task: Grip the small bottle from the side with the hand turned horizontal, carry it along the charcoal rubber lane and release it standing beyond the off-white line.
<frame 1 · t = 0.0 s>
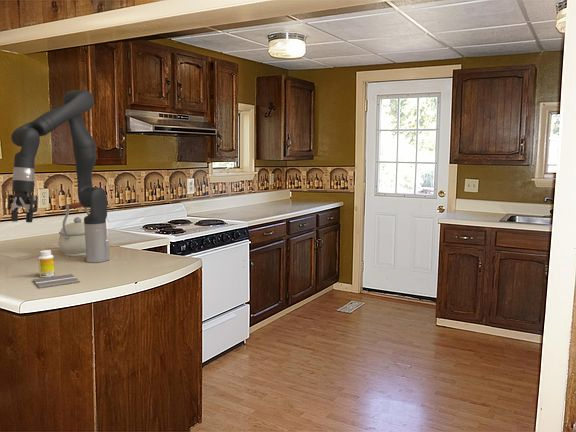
hand: (21, 221, 198), 22 cm above the counter, tool pointing down, fingers open, 8 cm apart
kettle: (81, 253, 252), on the counter
supplement bottle: (47, 276, 204), on the counter
lane mat: (56, 281, 195), on the counter
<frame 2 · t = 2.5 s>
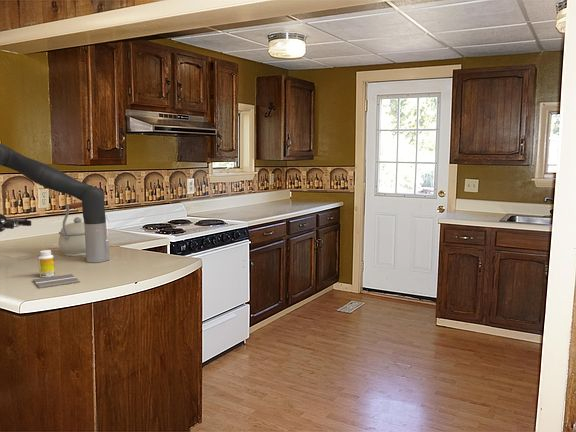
hand: (22, 224, 205), 20 cm above the counter, tool horizontal, fingers open, 8 cm apart
nothing on the counter moved.
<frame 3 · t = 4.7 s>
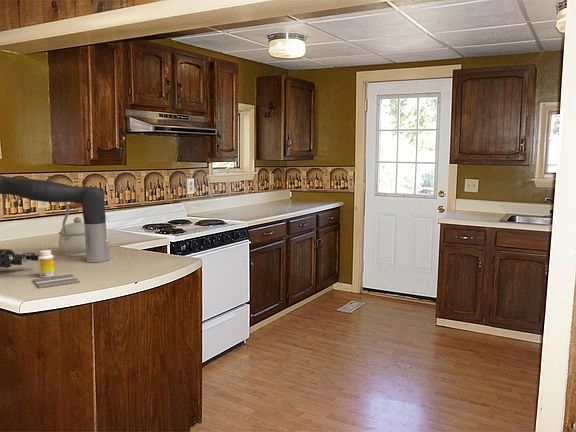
hand: (29, 260, 206), 6 cm above the counter, tool horizontal, fingers open, 8 cm apart
nothing on the counter moved.
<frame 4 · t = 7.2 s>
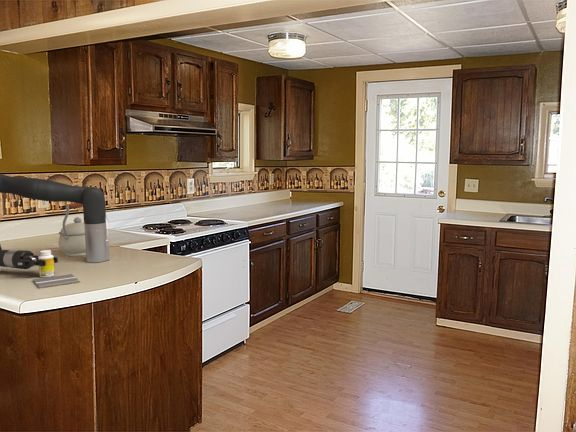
hand: (51, 261, 203), 6 cm above the counter, tool horizontal, fingers closed on supplement bottle, 5 cm apart
supplement bottle: (47, 276, 204), on the counter, touching gripper
everything else where it was.
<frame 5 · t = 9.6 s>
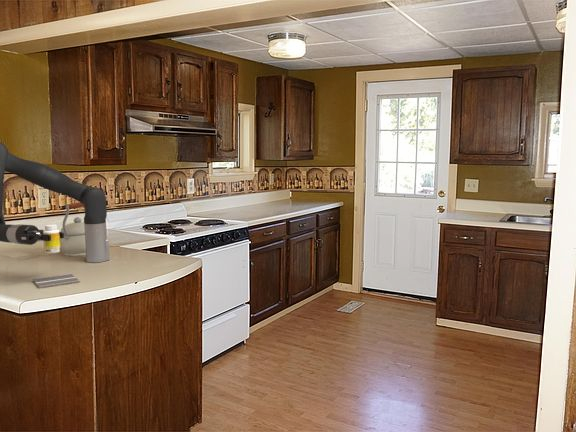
hand: (56, 236, 190), 18 cm above the counter, tool horizontal, fingers closed on supplement bottle, 5 cm apart
supplement bottle: (52, 252, 192), point 11 cm above the counter, touching gripper
everything else where it was.
when the fingers open (8 cm above the counter, at t = 12.2 s): supplement bottle stays where it is, resting on lane mat.
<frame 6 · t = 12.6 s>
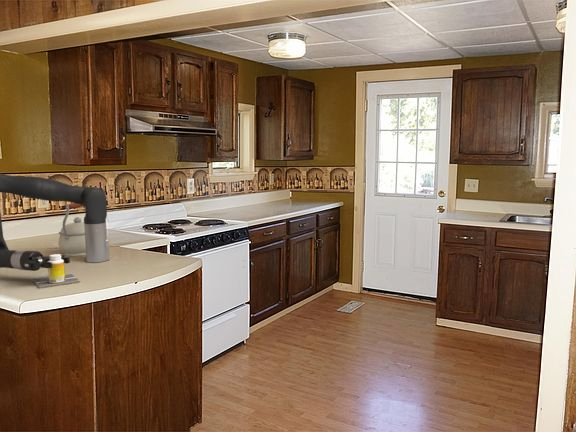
hand: (60, 262, 190), 8 cm above the counter, tool horizontal, fingers open, 8 cm apart
supplement bottle: (57, 282, 192), resting on lane mat
everything else where it was.
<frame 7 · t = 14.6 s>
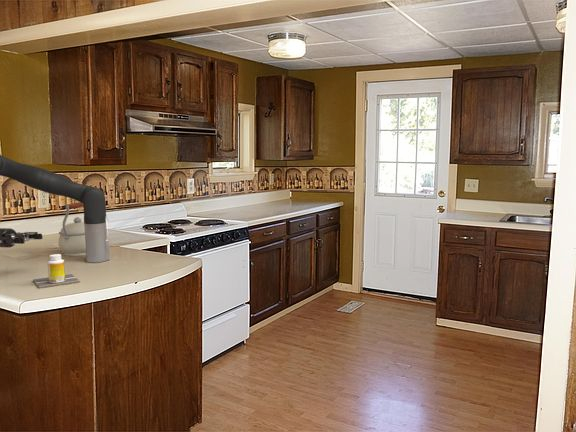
hand: (32, 238, 196), 16 cm above the counter, tool horizontal, fingers open, 8 cm apart
nothing on the counter moved.
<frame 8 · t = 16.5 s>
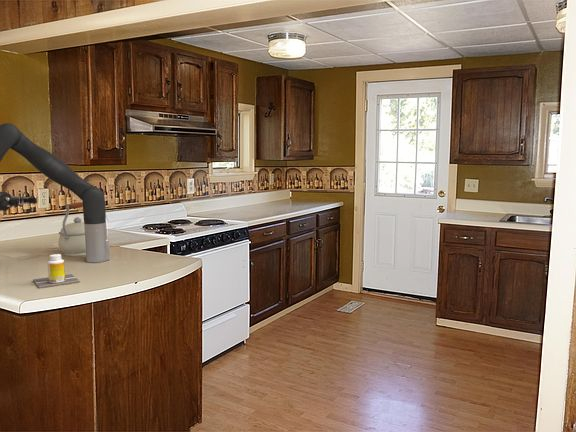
hand: (27, 201, 198), 30 cm above the counter, tool horizontal, fingers open, 8 cm apart
nothing on the counter moved.
at the end: supplement bottle inside the target area (2.6 cm from its centre), resting on lane mat; supplement bottle tilted 0°; the gripper is holding nothing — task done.
